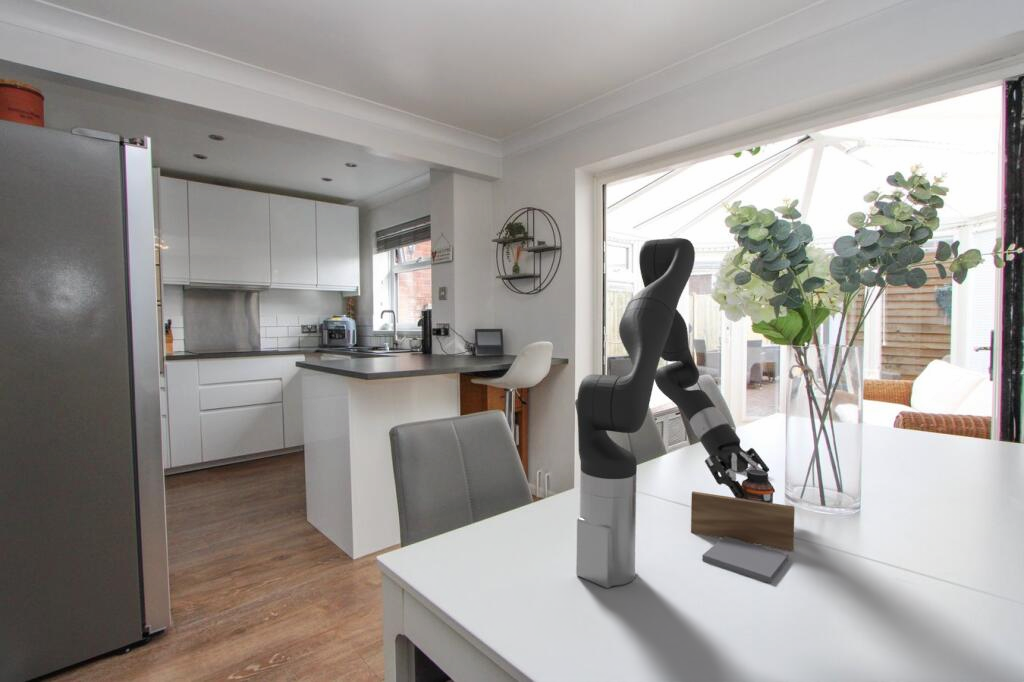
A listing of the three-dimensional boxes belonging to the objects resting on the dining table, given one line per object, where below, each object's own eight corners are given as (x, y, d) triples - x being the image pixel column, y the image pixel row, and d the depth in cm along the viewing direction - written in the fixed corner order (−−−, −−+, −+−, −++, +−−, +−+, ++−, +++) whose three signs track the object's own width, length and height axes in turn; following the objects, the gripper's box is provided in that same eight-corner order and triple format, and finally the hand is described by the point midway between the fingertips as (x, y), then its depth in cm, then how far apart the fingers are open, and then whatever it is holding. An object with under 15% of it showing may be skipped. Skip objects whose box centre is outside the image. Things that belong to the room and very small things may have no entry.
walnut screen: (793, 551, 90) (794, 508, 90) (690, 532, 98) (691, 493, 98) (792, 548, 91) (794, 506, 91) (691, 530, 99) (692, 491, 99)
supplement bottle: (776, 532, 98) (777, 477, 98) (744, 529, 99) (746, 475, 99) (767, 521, 104) (768, 468, 104) (737, 518, 105) (738, 467, 105)
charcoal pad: (770, 583, 79) (770, 577, 78) (702, 560, 86) (702, 554, 86) (788, 559, 87) (788, 554, 87) (724, 540, 94) (725, 535, 94)
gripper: (701, 425, 106) (746, 493, 96) (745, 419, 112) (792, 483, 102) (682, 443, 111) (723, 510, 101) (725, 437, 117) (768, 500, 107)
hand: (758, 496), depth 101 cm, fingers open, 8 cm apart
